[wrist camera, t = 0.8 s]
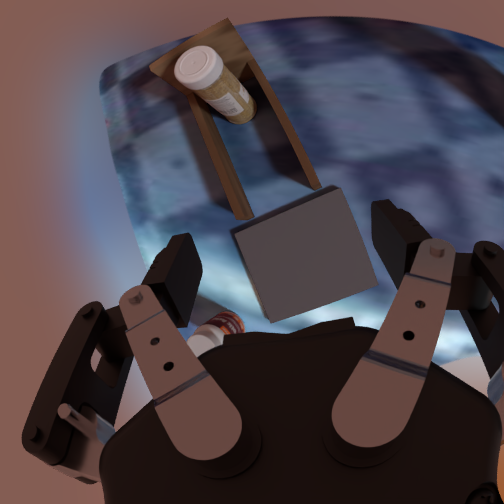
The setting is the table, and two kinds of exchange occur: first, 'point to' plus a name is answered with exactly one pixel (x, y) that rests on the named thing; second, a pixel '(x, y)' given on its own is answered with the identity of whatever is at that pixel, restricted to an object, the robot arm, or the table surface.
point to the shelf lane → (243, 68)
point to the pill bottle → (215, 332)
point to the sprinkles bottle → (215, 84)
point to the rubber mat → (307, 257)
